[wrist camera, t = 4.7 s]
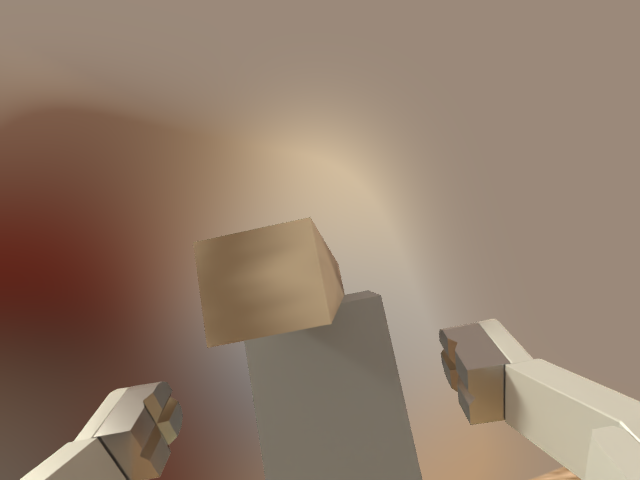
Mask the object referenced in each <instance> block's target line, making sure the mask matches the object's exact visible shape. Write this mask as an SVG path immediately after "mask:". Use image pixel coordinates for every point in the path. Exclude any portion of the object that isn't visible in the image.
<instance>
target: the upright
mask: <svg viewBox="0 0 640 480" xmlns="http://www.w3.org/2000/svg"><path fill="white" fill-rule="evenodd" d="M244 342H245V349H246V355H247V361H248V368H249V375H250V381H251V388H252V395H253V401H254V408H255V414H256V421H257V427H258V433H259V440H260V446H261V453H262V460H263V467H264V473H265V480H422V476H421V472H420V467H419V463H418V458H417V454H416V449H415V445H414V441H413V436H412V432H411V427H410V423H409V419H408V414H407V409H406V405H405V400H404V396H403V392H402V387H401V383H400V378H399V374H398V370H397V365H396V361H395V356H394V351H393V347H392V343H391V338H390V334H389V330H388V325H387V320H386V316H385V312H384V307H383V303H382V298H381V295H379V294H376V293H374V292H370V291H363V292H359V293H353V294H348V295H344V297H343V299H342V302H341V304H340V306H339V308H338V310H337V313H336V315H335V317H334V319H333V321H332V324H328V325H323V326H318V327H313V328H308V329H302V330H297V331H292V332H287V333H282V334H276V335H271V336H266V337H261V338H256V339H250V340H245V341H244Z"/></svg>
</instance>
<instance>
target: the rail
mask: <svg viewBox="0 0 640 480" xmlns="http://www.w3.org/2000/svg"><path fill="white" fill-rule="evenodd" d="M193 245H194V252H195V259H196V267H197V274H198V282H199V289H200V296H201V304H202V311H203V318H204V327H205V334H206V341H207V348H209V347H214V346H219V345H224V344H229V343H235V342H240V341H245V340H250V339H256V338H261V337H266V336H271V335H276V334H282V333H287V332H292V331H297V330H302V329H308V328H313V327H318V326H323V325H328V324H332V321H333V319H334V317H335V315H336V313H337V310H338V308H339V306H340V304H341V302H342V299H343V297H344V289H343V284H342V280H341V275H340V270H339V266H338V263H337V261H336V260H335V258H334V256H333V255H332V253H331V251H330V250H329V248H328V246H327V245H326V243H325V241H324V240H323V238H322V236H321V235H320V233H319V231H318V229H317V228H316V226H315V224H314V223H313V221H312V219H311V218H310V217H309V218H305V219H300V220H295V221H290V222H286V223H281V224H276V225H272V226H267V227H262V228H258V229H253V230H249V231H244V232H240V233H235V234H230V235H225V236H221V237H216V238H212V239H207V240H202V241H198V242H194V243H193Z"/></svg>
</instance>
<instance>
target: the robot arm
mask: <svg viewBox="0 0 640 480" xmlns="http://www.w3.org/2000/svg"><path fill="white" fill-rule="evenodd" d="M439 338H440V342H441V344H442V346H443V348H444V350H443V351H442V352H441V358H442V364H443V368H444V372H445V375H446V377H447V380H448V382H449V384H450V386H451V388H452V389H454V390H455V391H457V392H458V399H459V404H460V405H461V407H462V409H463V411H464V413H465V415H466V417H467V419H468V421H469V423H470V425H473V424H481V423H488V422H494V421H502V420H505V422H506V423H507V424H509V425H510V426H511V427H513V428H514V429H515V430H517V431H518V432H519V433H521V434H522V435H523V436H525V437H526V438H527V439H528V440H530V441H531V442H533V443H534V444H535V445H536V446H538V447H539V448H540V449H542V450H543V451H544V452H546V453H547V454H549V455H550V456H551V457H552V458H554V459H555V460H556V461H558V462H559V463H561V464H562V465H563V466H564V467H566V468H567V469H568V470H570V471H571V472H572V473H574V474H575V475H576V476H578V477H579V478H580V479H582V480H640V401H637V400H635V399H633V398H630V397H628V396H626V395H623V394H621V393H619V392H616V391H614V390H612V389H609V388H607V387H605V386H602V385H600V384H598V383H596V382H593V381H591V380H588V379H586V378H584V377H582V376H579V375H577V374H575V373H572V372H570V371H568V370H565V369H563V368H561V367H559V366H556V365H554V364H552V363H549V362H547V361H545V360H542V359H533V358H532V357H531V356H530V355H529V353H528V352H527V351H526V350H525V349H524V348H523V347H522V346H521V345H520V344H519V343H518V342H517V341H516V339H515V338H514V337H513V336H512V335H511V334H510V333H509V332H508V331H507V330H506V329H505V328H504V326H503V325H502V324H500V322H499V321H498V320H496V319H494V318H493V319H488V320H484V321H479V322H475V323H470V324H465V325H461V326H455V327H450V328H445V329H440V331H439ZM171 393H172V389H171V388H170V386H169V384H168V383H167V382H157V383H151V384H144V385H138V386H132V387H128V388H122V389H116V390H114V391H113V392H111V393H110V394H109V395H108V396H107V398H106V399H105V400H104V402H103V403H102V404H101V406H100V407H99V408H98V410H97V411H96V412H95V414H94V415H93V416H92V418H91V419H90V421H89V422H88V423H87V424H86V426H85V427H84V429H83V430H82V431H81V433H80V434H79V435H78V436H77V438H76V439H75V440H74V442H70V443H67V444H66V445H64V446H63V447H62V448H61V449H59V450H58V451H57V452H55V453H54V454H53V455H51V456H50V457H49V458H48V459H46V460H45V461H44V462H42V463H41V464H40V465H38V466H37V467H36V468H35V469H33V470H32V471H31V472H30V473H28V474H27V475H25V476H24V477H23V478H22V479H20V480H147V479H152V478H157V477H160V475H161V473H162V470H163V468H164V466H165V464H166V461H167V459H168V457H169V455H170V452H171V451H170V448H169V444H170V443H171V442H172V441H173V440H174V439H175V438H176V437H177V436H178V434H179V431H180V429H181V425H182V410H181V406H180V404H179V402H178V401H176V400H175V399H173V398H171V397H170V396H171Z"/></svg>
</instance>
